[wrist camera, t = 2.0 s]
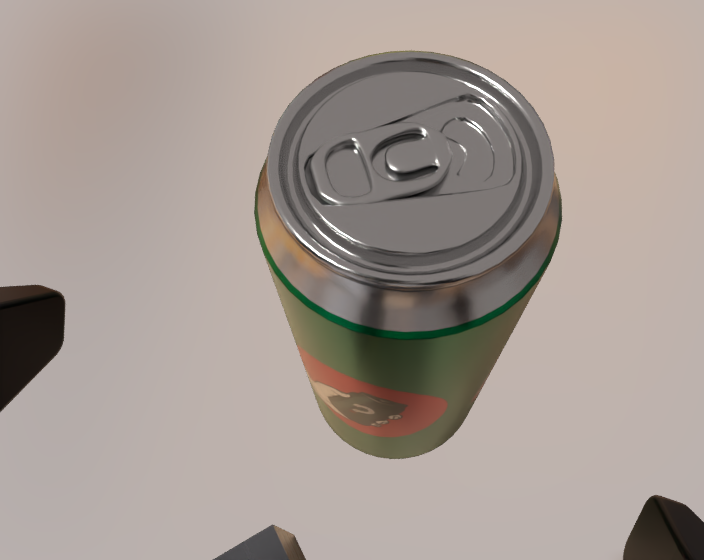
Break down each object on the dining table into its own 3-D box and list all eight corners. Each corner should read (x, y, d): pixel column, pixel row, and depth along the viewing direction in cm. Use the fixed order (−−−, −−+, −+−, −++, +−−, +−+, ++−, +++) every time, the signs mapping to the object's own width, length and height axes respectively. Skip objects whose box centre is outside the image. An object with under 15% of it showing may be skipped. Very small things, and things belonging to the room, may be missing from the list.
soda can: (495, 437, 19) (644, 257, 8) (337, 482, 19) (279, 353, 8) (442, 294, 21) (506, 4, 10) (300, 331, 21) (215, 70, 10)
